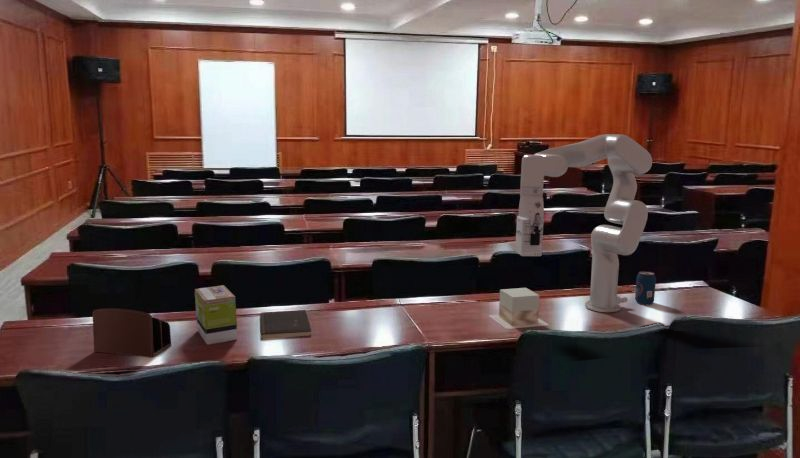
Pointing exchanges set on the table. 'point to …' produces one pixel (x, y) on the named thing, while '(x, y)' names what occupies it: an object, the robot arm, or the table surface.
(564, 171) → the robot arm
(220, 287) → the tea box
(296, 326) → the hardcover book
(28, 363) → the table surface
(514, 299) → the upper block
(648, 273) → the soda can
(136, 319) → the letter holder
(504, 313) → the lower block
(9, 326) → the table surface
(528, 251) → the supplement box
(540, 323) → the base board
